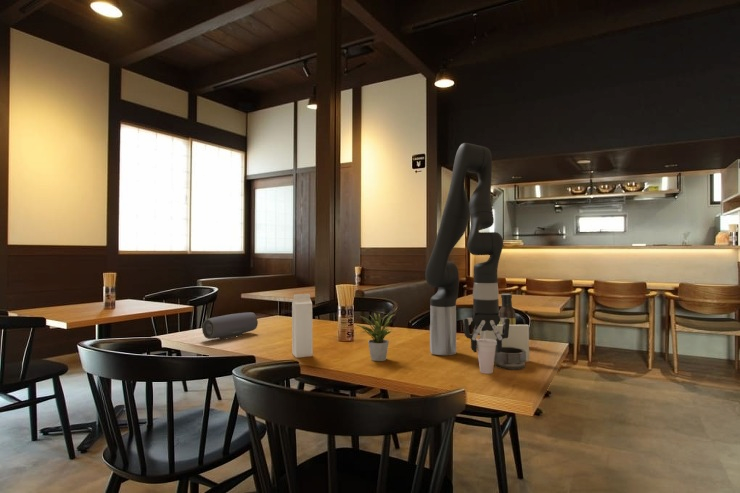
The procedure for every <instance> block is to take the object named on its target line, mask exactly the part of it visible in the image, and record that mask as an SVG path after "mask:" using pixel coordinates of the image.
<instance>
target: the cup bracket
mask: <svg viewBox="0 0 740 493" xmlns="http://www.w3.org/2000/svg"><path fill="white" fill-rule="evenodd" d="M494 359H495V361H494V366H495V367H496V368H498V369H502V370H507V371H518V370H519V371H520V370H524V369H525V368H526V362H527V361H526V351H524V350H523V349H520V348H514V347H502V350H501V351H500V353H497V352H496V349H495V357H494Z"/></svg>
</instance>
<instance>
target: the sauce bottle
mask: <svg viewBox="0 0 740 493" xmlns="http://www.w3.org/2000/svg"><path fill="white" fill-rule="evenodd" d="M512 297H513V295H512V293H501V294H500V298H501V307H500V308H499V316H500V318H505V317H506V318H508V319H509V320H510V323H509V325H517V324H516V323H517V320H516V319H517V318H516V310H515V308H514V307H513V303H512ZM498 325H503V324H502V323H501V321H500V322H499V323H498Z"/></svg>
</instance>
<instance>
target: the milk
mask: <svg viewBox="0 0 740 493" xmlns="http://www.w3.org/2000/svg"><path fill="white" fill-rule="evenodd" d="M291 304H292V305H291V316H292V317H291V327H292V328H291V329H292V330H291V333H292V334H291V335H292V336H291V339H292V340H291V342H292V343H291V344H292V347H291V348H292V352H291V353H292V355H293V356H294V357H295V359H297V358H298V359H299V358H306V357H313V354H314V352H313V348H314V347H313V302H312V299H311V293H297V294H296V293H295V294H293V300H292V301H291Z"/></svg>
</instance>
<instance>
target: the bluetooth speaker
mask: <svg viewBox="0 0 740 493" xmlns="http://www.w3.org/2000/svg"><path fill="white" fill-rule="evenodd" d="M258 322H259V321H258V317H257V315H256V314H255V313H254V312H247V311H246V312H238V313H237V312H236V313H231V314H229V313H228V314H225V315H221V316H214V317H210V318H207V319H205V320H204V321H203V323H202V334H203V336H204V338H206V340H207V339H208V340H214V339H220V340H227V339H226V338H229V339H232V338H231V337H234V338H237V337H236V336H238V337H241V335H242V336H243V334H245V333H249V332H253V331H255V330H256V329H257V327H258V325H259V324H258Z"/></svg>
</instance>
